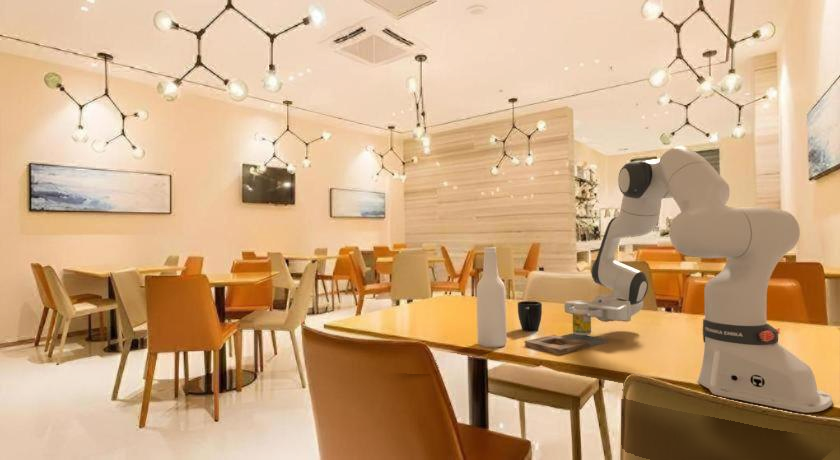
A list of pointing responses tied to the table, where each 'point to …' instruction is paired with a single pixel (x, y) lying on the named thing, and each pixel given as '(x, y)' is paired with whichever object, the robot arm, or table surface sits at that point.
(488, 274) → the alcohol
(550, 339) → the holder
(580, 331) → the supplement bottle
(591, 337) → the mat
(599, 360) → the table surface
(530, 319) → the mug
